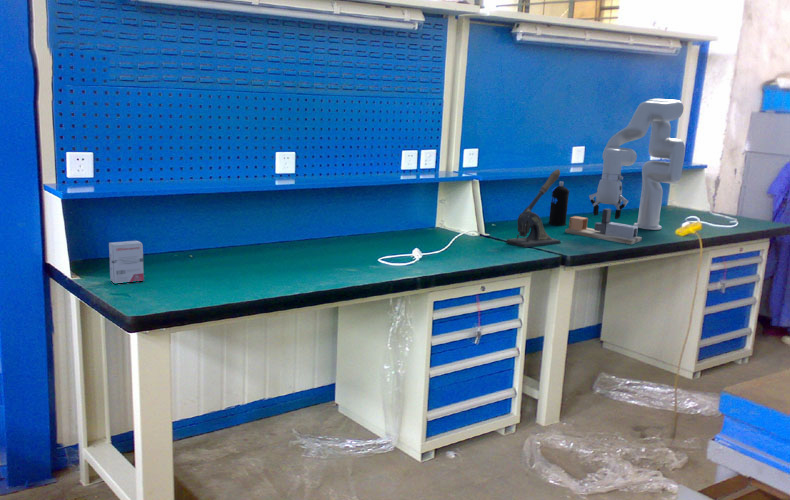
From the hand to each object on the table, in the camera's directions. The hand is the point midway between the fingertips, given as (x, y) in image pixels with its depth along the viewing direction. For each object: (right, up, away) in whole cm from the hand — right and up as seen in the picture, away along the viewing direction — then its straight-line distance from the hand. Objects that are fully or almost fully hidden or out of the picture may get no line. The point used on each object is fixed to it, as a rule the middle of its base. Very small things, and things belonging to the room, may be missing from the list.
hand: (606, 216), depth 316 cm
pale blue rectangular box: (+5, -8, -3) cm, 10 cm away
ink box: (-170, -24, -103) cm, 200 cm away
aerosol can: (-16, -2, +26) cm, 31 cm away
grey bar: (+3, -8, -1) cm, 8 cm away
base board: (-1, -8, +2) cm, 9 cm away
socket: (-10, -5, +9) cm, 14 cm away
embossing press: (-35, -12, -19) cm, 41 cm away
